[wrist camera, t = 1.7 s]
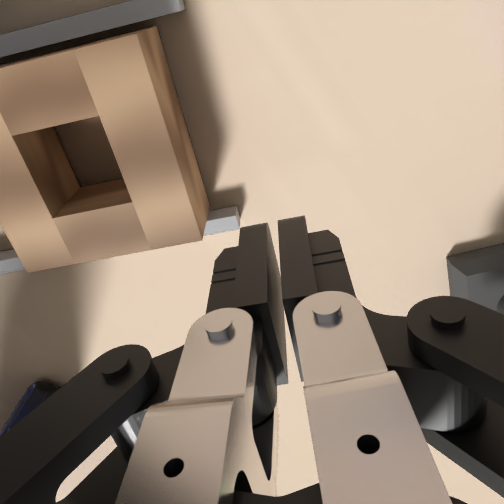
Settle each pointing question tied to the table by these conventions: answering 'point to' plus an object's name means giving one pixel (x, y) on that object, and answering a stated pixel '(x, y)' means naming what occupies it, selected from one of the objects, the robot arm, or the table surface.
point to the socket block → (122, 143)
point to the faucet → (479, 276)
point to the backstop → (138, 9)
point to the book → (29, 402)
